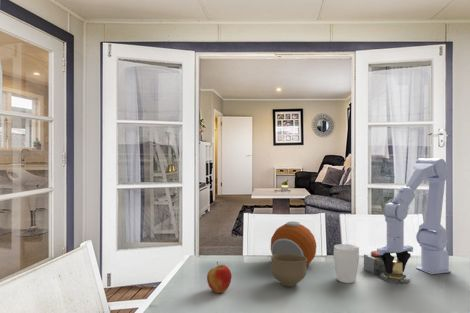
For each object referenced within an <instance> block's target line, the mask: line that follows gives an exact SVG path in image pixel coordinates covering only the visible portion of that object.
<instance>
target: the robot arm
mask: <svg viewBox="0 0 470 313" xmlns="http://www.w3.org/2000/svg"><path fill="white" fill-rule="evenodd" d="M448 169H449V165H448V163H447V162H446V161H445V160H444V158H421V157H419V158H418V159H417V160H416V161H415V163H414V164H413V172H412V174H411V175H410V178H409V180H408V181H407V183H406V185H405V186H403V187H400V188H399V189H398V191H397V193H396V194H395V195H394V197H393V198H392V200H391V202H388V203H386V204H385V205H384V206H383V210H382V213H383V216H384V219H385V220H384V221H385V222H386V244H385V246H383V247H379V248H376V251H377V254H379V255H380V256H381V258H382V260H383V263H384V265H385V269H386V273H388V274H392V264H393V260H394V259H395V256H393V255H392V254H395V255H396V260H400V261H402V262H403V273H405V269H406V265H407V264H408V261H409V259H410V258H411V257H412V255H411V253H413V252H414V247H413V246H412V245H405V244H404V242H405V241H404V238H405V237H404V231H405V230H404V226H405V225H404V224H405V221H404V220H405V219H406V218H407V217H408V213H409V208H410V204H411V203H412V202H413V200H414V199H415V198H416V194H415V192H416V190H417V189H418V188H419V187H420V185H421V184H422V183H423V181H424V180H426V181H427V182H428V193H427V201H426V210H425V211H426V212H425V221H424V222H422V223H421V224H419V225H418V230H417V233H416V235H415V239H416V242H417V243H418V244H419V247H420V250H421V251H420V252H421V253H420V254H421V255H420V260H421V261H420V266H415V269H418V270H419V271H422V272H425V273H427V274H430V275H437V274H444V273H451V272H452V271H451V270H450V264H449V263H450V255H449V252H448V250H447V248H446V247H447V245H448V244H449V243H448V241H449V239H448V234H447V233H448V230H447V229H446V228H445V227H444V226H443V225H442V224H441V220H442V213H443V204H444V194H445V184H446V181H447V176H448ZM409 252H410V253H409Z"/></svg>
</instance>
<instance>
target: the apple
mask: <svg viewBox="0 0 470 313" xmlns="http://www.w3.org/2000/svg"><path fill="white" fill-rule="evenodd" d="M216 265H217V266H215V267H213V268H210V270H209V271H208V272H207V275H206V281H207V285H208V287H209V288H210V290H211V291H212V292H214V293H216V294H222V293H224V292H226V291H227V290H228V288H229V287H230V285H231V283H232V272H231V270H230V268H229V267H228V266H226V265H225V264H219V262H218V261H216Z"/></svg>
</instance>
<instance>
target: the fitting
mask: <svg viewBox="0 0 470 313" xmlns="http://www.w3.org/2000/svg"><path fill="white" fill-rule="evenodd" d="M387 277H390V278H396V279H402V278H403V262H402V261H400V260H397V258H396V259H395V258H394V260H393V264H392V274H388V275H387Z"/></svg>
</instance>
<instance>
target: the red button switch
mask: <svg viewBox="0 0 470 313" xmlns="http://www.w3.org/2000/svg"><path fill="white" fill-rule="evenodd" d="M363 270H364V271H366V272H368V273H370V274H372V275H380V277H379V278H380V279H382V280H384V281H385V282H388V283H395V284H400V285H401V284H405V283H407V284H408V283H410V279H411V278H410V275H409V274H407V273H405V272H404V273H403V278H402V279H396V278H390V277H388V273H386V269H385V265H384V263H383V260H382V258H381V256H380V255H379V254H377V250H372V251H370V253H364V254H363Z"/></svg>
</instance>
